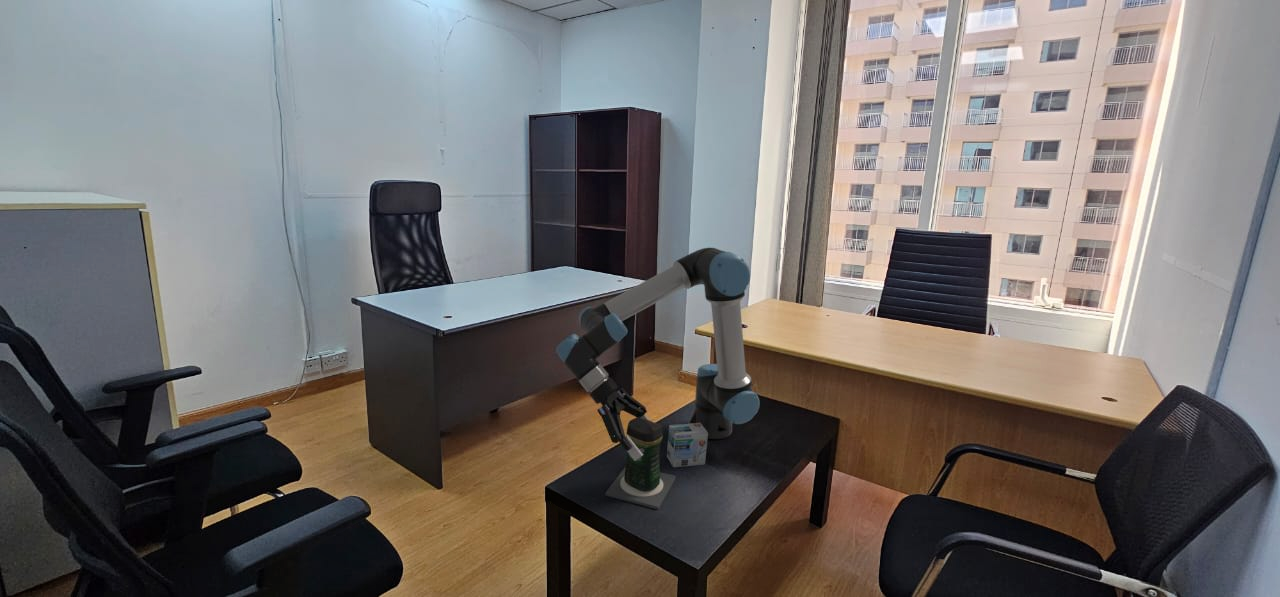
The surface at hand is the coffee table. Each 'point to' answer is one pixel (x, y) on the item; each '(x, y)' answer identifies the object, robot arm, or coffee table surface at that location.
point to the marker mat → (634, 495)
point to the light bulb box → (687, 444)
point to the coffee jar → (644, 454)
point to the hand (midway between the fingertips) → (647, 446)
